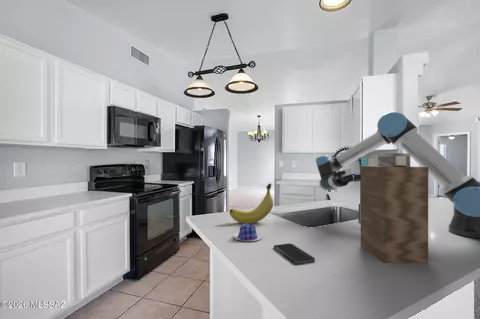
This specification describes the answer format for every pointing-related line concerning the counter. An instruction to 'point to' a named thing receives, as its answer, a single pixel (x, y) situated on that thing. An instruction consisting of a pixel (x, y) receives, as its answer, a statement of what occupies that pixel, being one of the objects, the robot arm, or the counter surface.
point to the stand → (395, 210)
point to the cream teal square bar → (374, 161)
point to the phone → (294, 254)
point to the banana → (257, 212)
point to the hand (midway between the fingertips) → (364, 172)
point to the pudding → (247, 233)
